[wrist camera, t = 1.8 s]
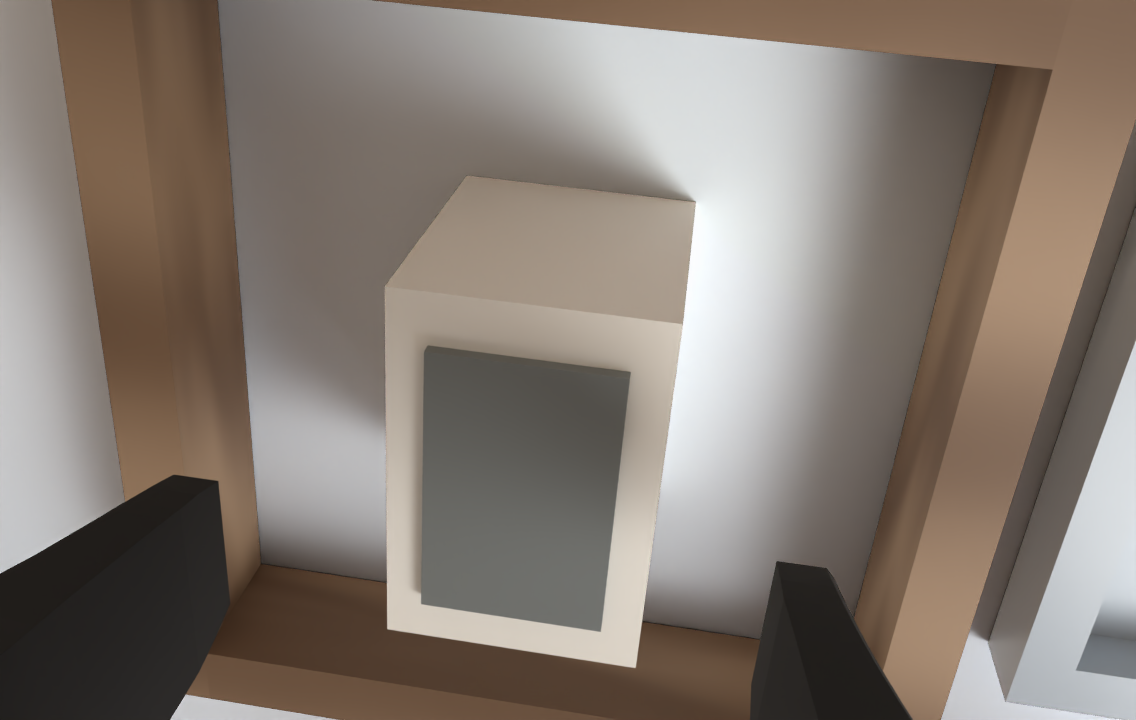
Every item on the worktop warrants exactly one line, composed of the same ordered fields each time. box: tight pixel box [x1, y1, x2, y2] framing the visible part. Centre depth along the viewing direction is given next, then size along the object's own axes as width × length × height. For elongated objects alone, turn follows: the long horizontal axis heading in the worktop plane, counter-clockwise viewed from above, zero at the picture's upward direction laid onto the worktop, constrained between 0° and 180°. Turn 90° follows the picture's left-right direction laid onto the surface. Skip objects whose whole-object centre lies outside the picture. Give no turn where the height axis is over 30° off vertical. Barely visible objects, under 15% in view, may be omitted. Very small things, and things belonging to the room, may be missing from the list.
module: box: [385, 175, 696, 668], centre depth 18 cm, size 6×4×5 cm, turn 176°
